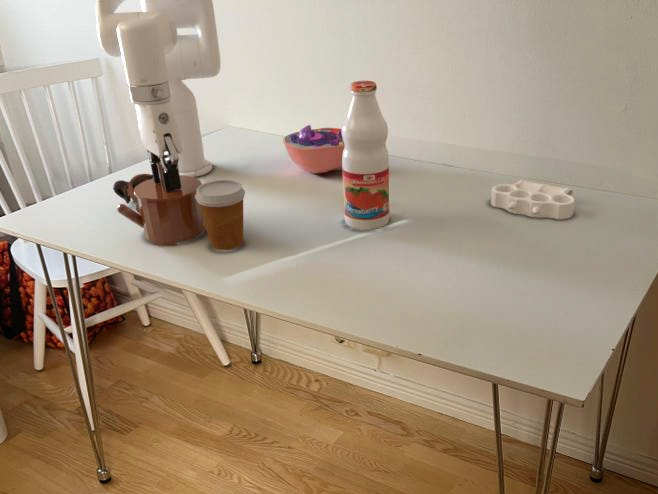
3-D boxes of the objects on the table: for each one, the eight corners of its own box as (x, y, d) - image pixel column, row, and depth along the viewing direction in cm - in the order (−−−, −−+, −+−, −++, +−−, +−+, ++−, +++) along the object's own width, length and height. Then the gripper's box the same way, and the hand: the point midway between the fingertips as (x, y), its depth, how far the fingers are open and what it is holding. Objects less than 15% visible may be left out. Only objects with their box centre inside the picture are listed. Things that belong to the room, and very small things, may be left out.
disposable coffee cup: (212, 259, 136) (202, 200, 129) (197, 242, 143) (187, 185, 136) (258, 248, 139) (251, 190, 133) (241, 232, 147) (234, 175, 140)
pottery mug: (170, 197, 166) (170, 173, 158) (162, 229, 161) (161, 205, 154) (118, 187, 164) (115, 162, 157) (108, 218, 159) (105, 194, 152)
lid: (125, 190, 144) (118, 161, 141) (186, 175, 150) (181, 147, 147) (149, 209, 135) (143, 178, 131) (213, 193, 141) (209, 163, 137)
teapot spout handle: (122, 232, 143) (115, 203, 140) (122, 228, 145) (115, 200, 142) (223, 219, 147) (219, 190, 144) (222, 215, 149) (218, 187, 146)
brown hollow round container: (136, 231, 149) (127, 187, 144) (191, 216, 155) (184, 173, 149) (159, 251, 140) (150, 205, 135) (217, 234, 146) (210, 190, 141)
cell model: (365, 181, 169) (364, 133, 163) (282, 183, 170) (277, 136, 163) (365, 158, 183) (363, 114, 177) (288, 160, 184) (284, 116, 177)
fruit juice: (387, 212, 152) (386, 76, 137) (391, 230, 145) (390, 88, 129) (344, 214, 152) (338, 78, 137) (345, 232, 145) (339, 90, 129)
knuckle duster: (585, 202, 153) (562, 226, 143) (508, 188, 162) (480, 210, 152) (588, 187, 151) (564, 210, 142) (509, 174, 160) (482, 195, 150)
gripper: (187, 96, 127) (202, 193, 138) (152, 81, 139) (168, 171, 149) (148, 104, 124) (166, 202, 134) (115, 87, 136) (134, 179, 146)
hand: (167, 185), depth 142 cm, fingers open, 5 cm apart
